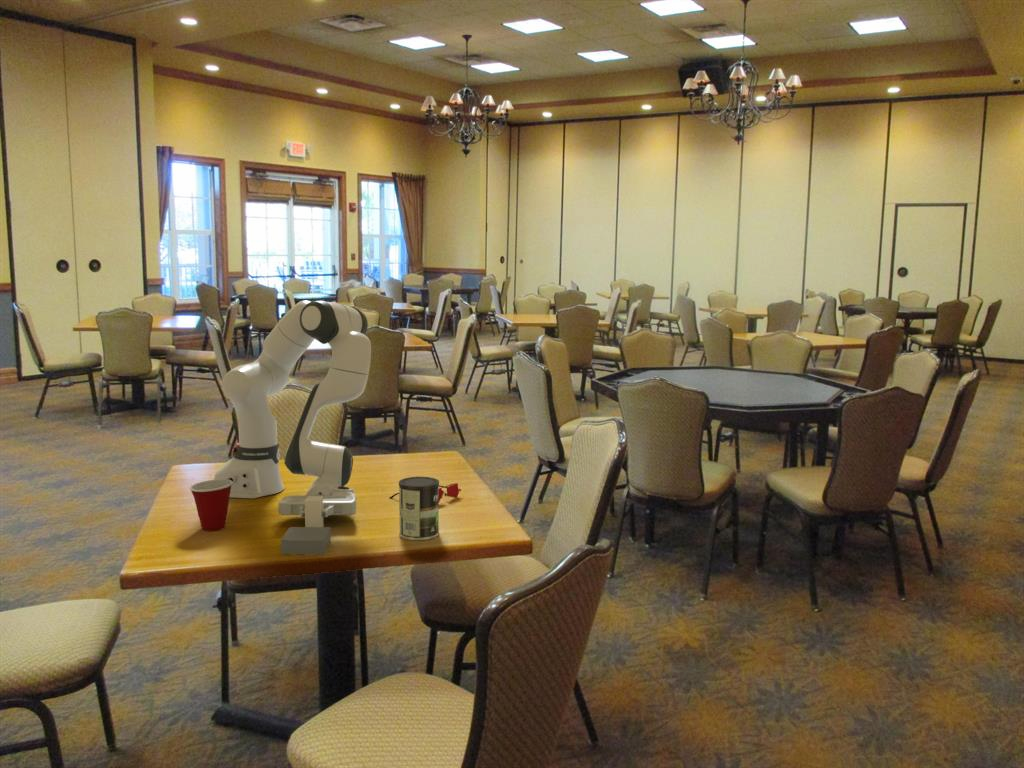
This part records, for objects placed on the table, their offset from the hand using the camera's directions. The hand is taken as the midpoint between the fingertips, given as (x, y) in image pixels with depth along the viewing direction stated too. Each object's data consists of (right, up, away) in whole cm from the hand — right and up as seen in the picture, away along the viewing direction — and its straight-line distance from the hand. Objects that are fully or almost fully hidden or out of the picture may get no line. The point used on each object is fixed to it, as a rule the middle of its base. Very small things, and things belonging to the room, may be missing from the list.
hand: (313, 514), depth 221 cm
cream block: (0, -5, +2) cm, 5 cm away
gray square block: (+1, -7, -10) cm, 12 cm away
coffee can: (+27, -6, +1) cm, 28 cm away
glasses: (+25, -1, +35) cm, 43 cm away
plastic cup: (-27, -4, +4) cm, 28 cm away
